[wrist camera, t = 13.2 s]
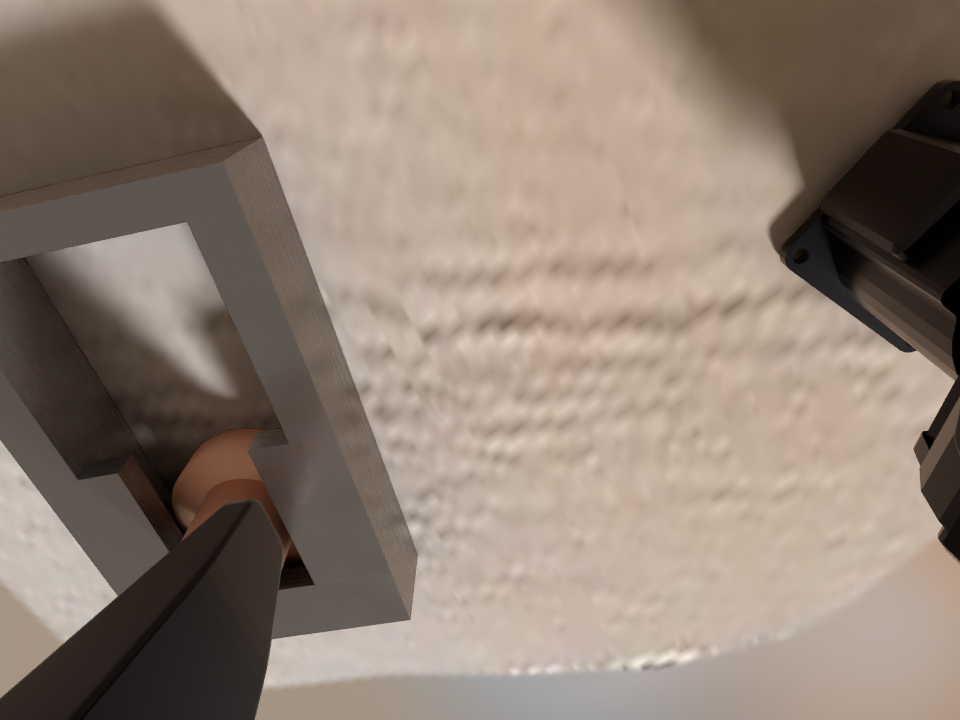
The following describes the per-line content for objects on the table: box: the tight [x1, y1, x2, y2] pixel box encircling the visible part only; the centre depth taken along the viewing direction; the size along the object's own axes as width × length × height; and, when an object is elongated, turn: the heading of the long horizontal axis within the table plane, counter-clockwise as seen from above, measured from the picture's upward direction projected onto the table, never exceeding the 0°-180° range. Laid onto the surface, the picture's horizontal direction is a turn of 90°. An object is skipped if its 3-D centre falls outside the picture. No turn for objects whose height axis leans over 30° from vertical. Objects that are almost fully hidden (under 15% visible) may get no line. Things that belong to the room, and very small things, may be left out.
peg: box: [172, 429, 302, 570], centre depth 20 cm, size 6×6×13 cm
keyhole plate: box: [0, 137, 418, 639], centre depth 22 cm, size 18×11×3 cm, turn 11°
